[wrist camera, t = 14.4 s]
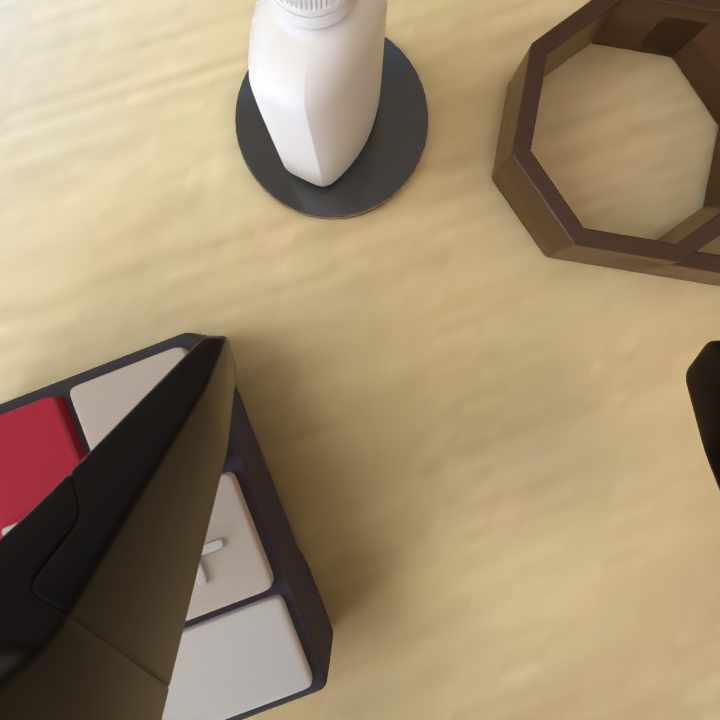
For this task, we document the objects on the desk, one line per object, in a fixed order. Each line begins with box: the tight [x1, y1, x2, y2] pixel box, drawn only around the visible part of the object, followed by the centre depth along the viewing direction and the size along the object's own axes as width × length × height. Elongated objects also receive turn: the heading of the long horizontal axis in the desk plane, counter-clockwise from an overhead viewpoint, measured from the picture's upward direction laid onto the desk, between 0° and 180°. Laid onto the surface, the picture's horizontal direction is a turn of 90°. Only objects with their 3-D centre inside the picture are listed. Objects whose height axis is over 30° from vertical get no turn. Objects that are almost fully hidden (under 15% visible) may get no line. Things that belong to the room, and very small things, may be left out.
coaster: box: [235, 38, 428, 219], centre depth 22 cm, size 8×8×1 cm
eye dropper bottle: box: [248, 0, 387, 187], centre depth 16 cm, size 4×6×12 cm
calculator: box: [0, 333, 333, 720], centre depth 21 cm, size 11×4×15 cm
